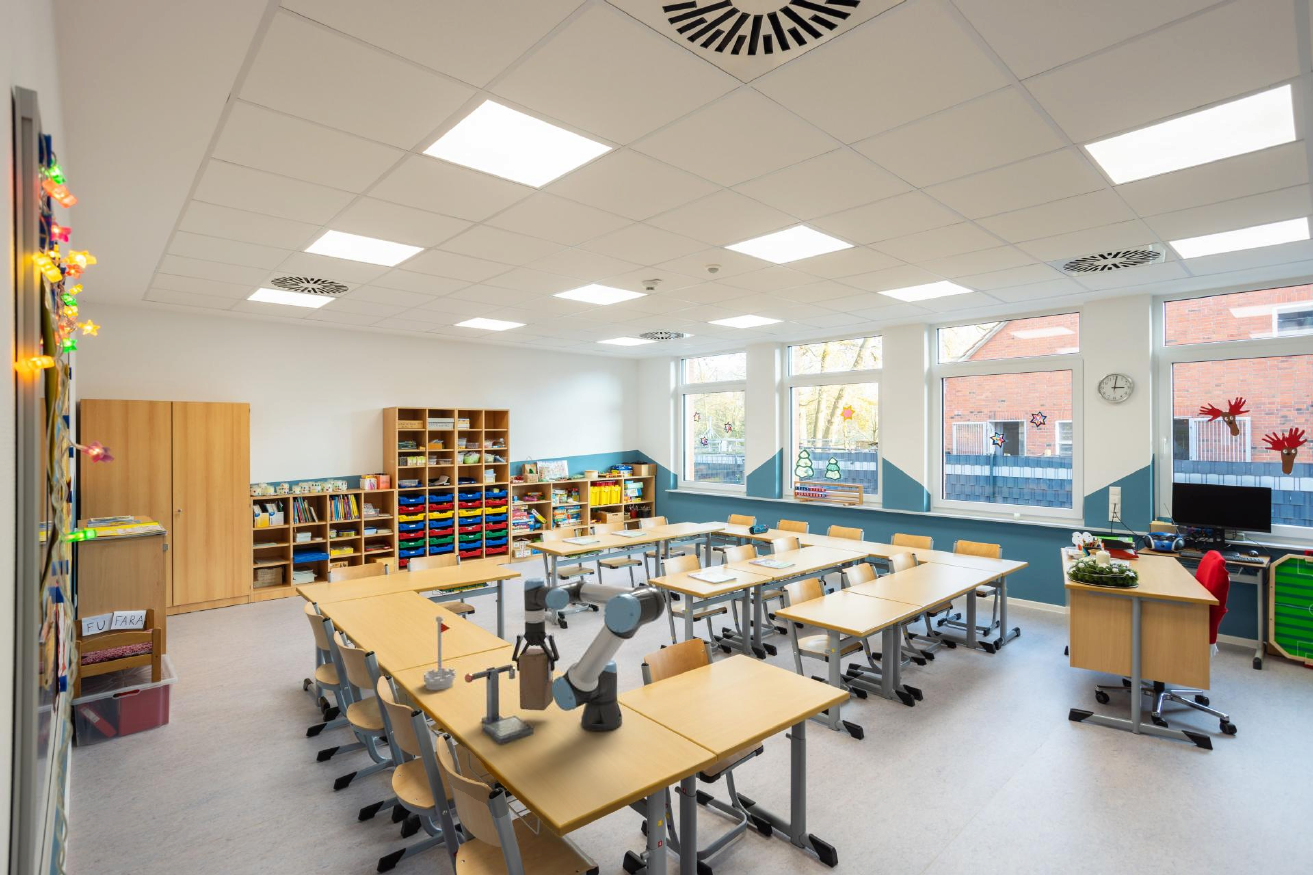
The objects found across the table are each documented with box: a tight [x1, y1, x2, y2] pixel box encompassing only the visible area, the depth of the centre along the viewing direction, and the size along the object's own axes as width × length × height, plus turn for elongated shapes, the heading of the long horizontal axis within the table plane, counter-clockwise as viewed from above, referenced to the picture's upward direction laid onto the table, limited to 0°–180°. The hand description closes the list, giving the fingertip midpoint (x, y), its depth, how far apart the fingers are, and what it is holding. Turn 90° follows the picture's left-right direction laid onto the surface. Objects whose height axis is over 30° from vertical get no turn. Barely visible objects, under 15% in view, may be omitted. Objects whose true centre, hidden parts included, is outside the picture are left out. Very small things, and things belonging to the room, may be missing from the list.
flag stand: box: [423, 615, 457, 691], centre depth 275 cm, size 13×13×30 cm
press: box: [481, 666, 534, 746], centre depth 232 cm, size 22×13×20 cm, turn 40°
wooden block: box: [518, 648, 554, 711], centre depth 239 cm, size 10×10×20 cm
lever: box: [464, 663, 516, 684], centre depth 237 cm, size 3×20×6 cm, turn 130°
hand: (536, 679), depth 239 cm, fingers closed on wooden block, 10 cm apart
